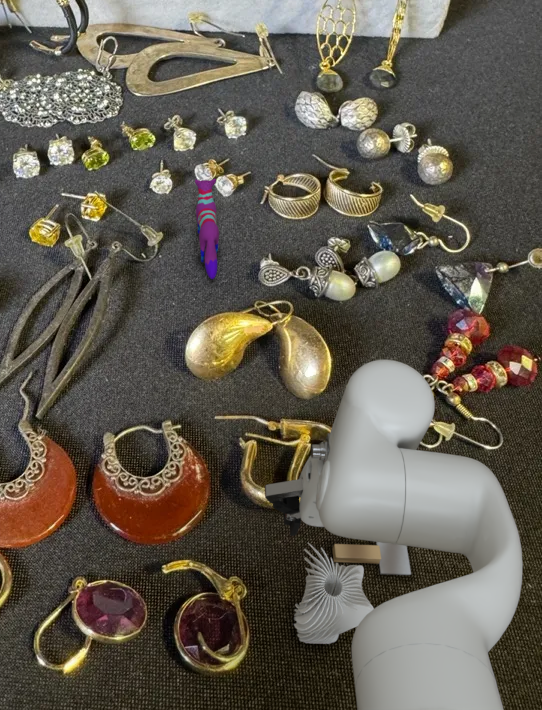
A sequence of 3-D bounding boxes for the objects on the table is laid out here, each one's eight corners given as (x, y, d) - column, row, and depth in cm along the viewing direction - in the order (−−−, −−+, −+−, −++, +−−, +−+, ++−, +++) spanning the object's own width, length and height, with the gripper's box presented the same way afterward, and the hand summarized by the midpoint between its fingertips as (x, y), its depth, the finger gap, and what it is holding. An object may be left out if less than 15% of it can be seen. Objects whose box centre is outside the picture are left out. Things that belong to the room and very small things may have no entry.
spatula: (404, 541, 110) (408, 536, 108) (410, 575, 107) (413, 570, 105) (331, 538, 110) (333, 533, 108) (334, 572, 107) (336, 567, 105)
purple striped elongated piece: (211, 208, 150) (214, 168, 142) (222, 284, 138) (226, 245, 130) (191, 209, 150) (193, 169, 142) (201, 285, 138) (203, 246, 130)
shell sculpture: (352, 661, 100) (382, 617, 86) (285, 656, 100) (305, 611, 86) (346, 591, 105) (374, 540, 92) (283, 587, 105) (301, 535, 92)
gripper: (276, 490, 75) (259, 555, 87) (464, 497, 74) (418, 561, 87) (272, 416, 79) (256, 489, 92) (448, 423, 79) (407, 494, 92)
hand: (335, 524), depth 90 cm, fingers open, 9 cm apart
